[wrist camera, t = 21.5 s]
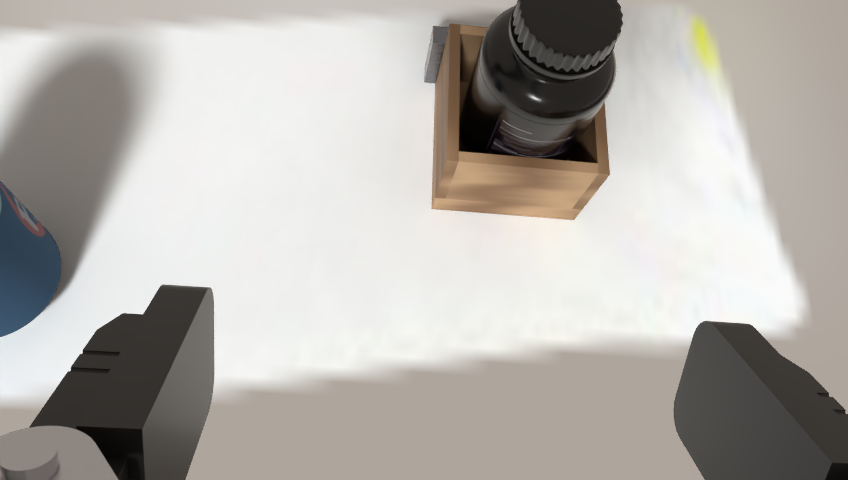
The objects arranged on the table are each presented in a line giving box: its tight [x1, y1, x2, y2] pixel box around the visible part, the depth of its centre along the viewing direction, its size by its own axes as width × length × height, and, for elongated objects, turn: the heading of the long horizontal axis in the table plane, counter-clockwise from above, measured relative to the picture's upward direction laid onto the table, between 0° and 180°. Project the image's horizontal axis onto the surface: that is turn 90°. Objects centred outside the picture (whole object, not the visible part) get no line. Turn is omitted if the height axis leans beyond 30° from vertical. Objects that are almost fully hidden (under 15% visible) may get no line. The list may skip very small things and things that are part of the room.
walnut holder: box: [432, 24, 610, 220], centre depth 42 cm, size 9×9×6 cm
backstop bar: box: [424, 26, 449, 83], centre depth 44 cm, size 10×1×4 cm, turn 88°
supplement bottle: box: [459, 0, 623, 161], centre depth 37 cm, size 7×7×12 cm
